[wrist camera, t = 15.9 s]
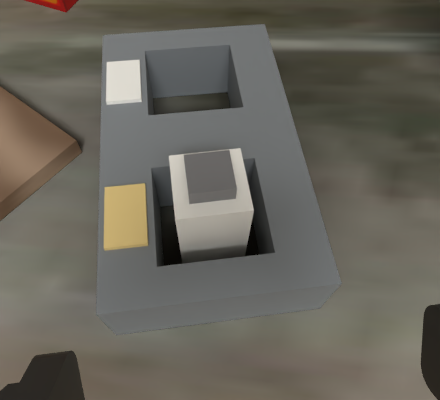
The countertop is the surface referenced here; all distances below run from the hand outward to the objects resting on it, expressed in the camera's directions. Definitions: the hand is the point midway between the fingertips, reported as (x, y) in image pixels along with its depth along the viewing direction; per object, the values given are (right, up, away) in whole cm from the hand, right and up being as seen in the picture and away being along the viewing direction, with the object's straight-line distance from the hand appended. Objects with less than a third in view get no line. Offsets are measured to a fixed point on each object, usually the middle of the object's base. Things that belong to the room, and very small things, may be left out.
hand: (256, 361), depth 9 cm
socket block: (-2, +5, +21) cm, 22 cm away
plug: (-1, +1, +19) cm, 19 cm away
